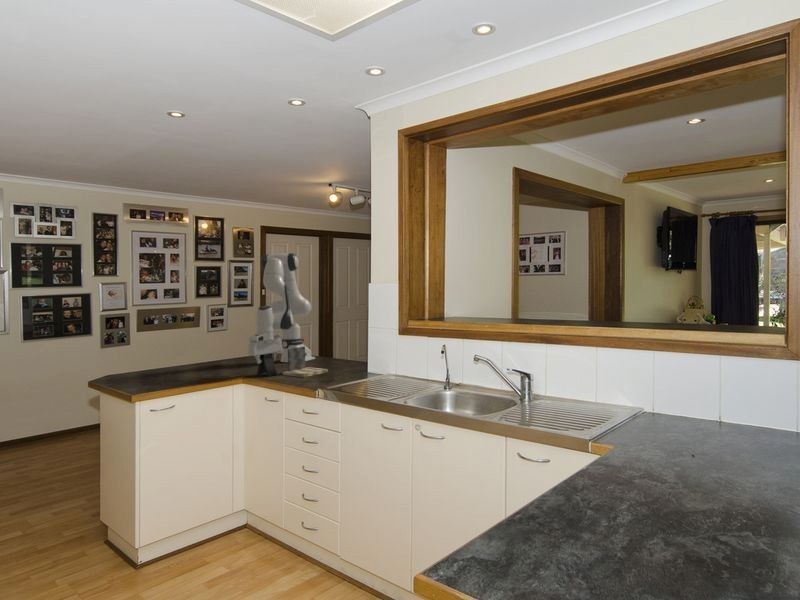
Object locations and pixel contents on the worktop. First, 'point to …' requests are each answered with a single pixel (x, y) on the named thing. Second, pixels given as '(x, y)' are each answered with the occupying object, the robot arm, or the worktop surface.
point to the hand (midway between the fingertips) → (266, 362)
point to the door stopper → (266, 366)
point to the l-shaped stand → (300, 364)
